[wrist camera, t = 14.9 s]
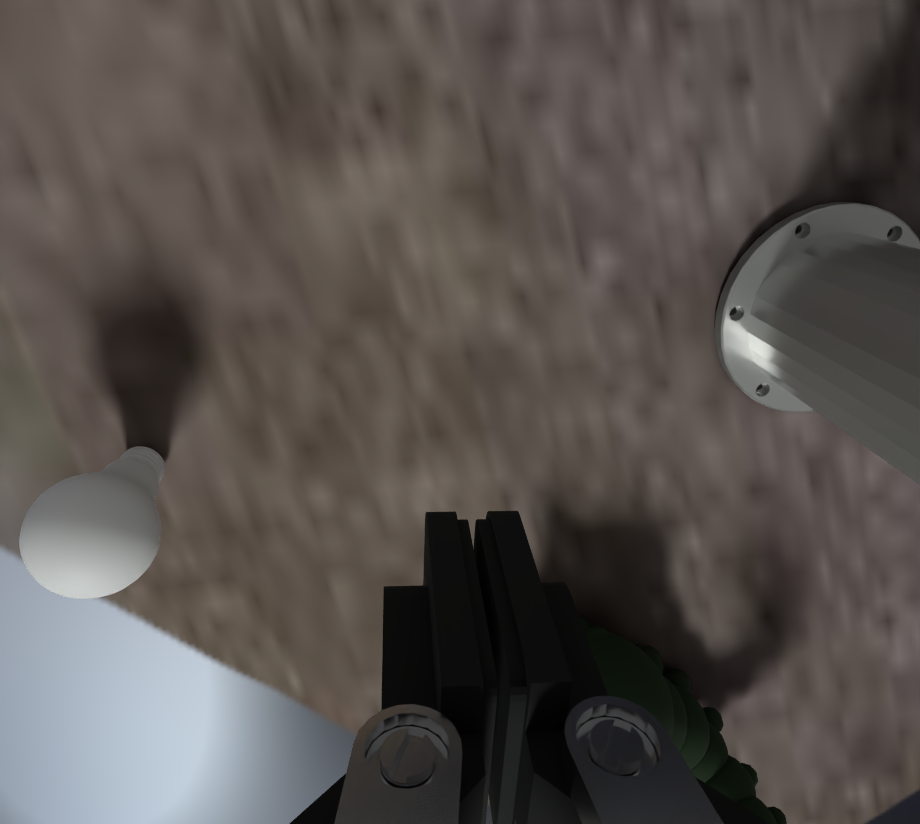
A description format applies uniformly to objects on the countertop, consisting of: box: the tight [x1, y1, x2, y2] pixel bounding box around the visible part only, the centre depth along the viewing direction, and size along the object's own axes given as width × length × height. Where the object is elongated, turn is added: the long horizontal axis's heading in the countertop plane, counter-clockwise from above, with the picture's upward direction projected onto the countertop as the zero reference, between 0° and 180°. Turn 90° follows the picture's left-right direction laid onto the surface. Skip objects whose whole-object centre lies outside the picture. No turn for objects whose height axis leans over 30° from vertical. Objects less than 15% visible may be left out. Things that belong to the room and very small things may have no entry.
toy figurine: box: [579, 617, 787, 824], centre depth 43 cm, size 9×19×25 cm
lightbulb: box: [19, 446, 165, 599], centre depth 35 cm, size 6×6×11 cm
